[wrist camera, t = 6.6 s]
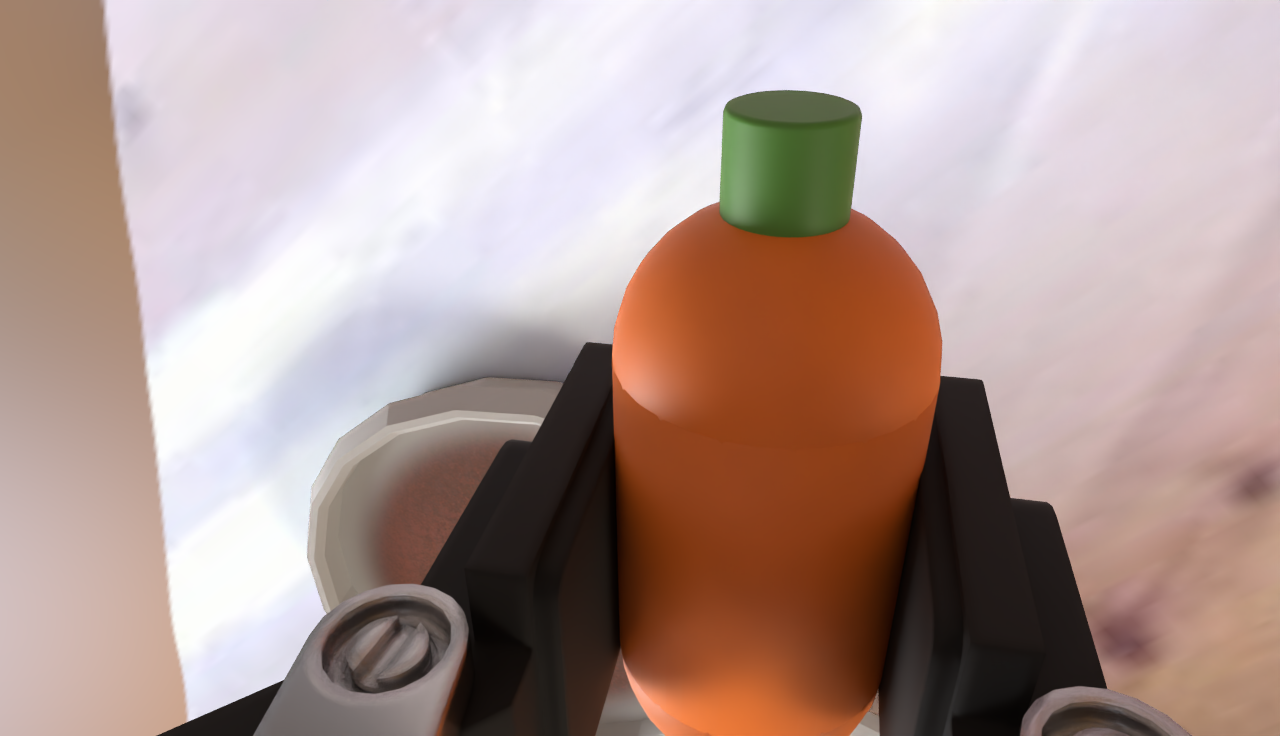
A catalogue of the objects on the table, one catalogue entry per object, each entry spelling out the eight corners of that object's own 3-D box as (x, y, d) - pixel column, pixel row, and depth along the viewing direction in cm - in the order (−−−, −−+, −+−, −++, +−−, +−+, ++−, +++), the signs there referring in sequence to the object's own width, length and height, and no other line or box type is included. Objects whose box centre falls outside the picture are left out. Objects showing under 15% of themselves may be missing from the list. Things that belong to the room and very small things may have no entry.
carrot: (646, 59, 9) (558, 150, 6) (969, 70, 8) (1018, 176, 6) (648, 730, 14) (601, 931, 11) (846, 765, 13) (844, 984, 11)
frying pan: (889, 931, 36) (254, 651, 35) (885, 861, 39) (292, 597, 37) (1192, 706, 27) (351, 309, 25) (1162, 633, 30) (393, 267, 28)
